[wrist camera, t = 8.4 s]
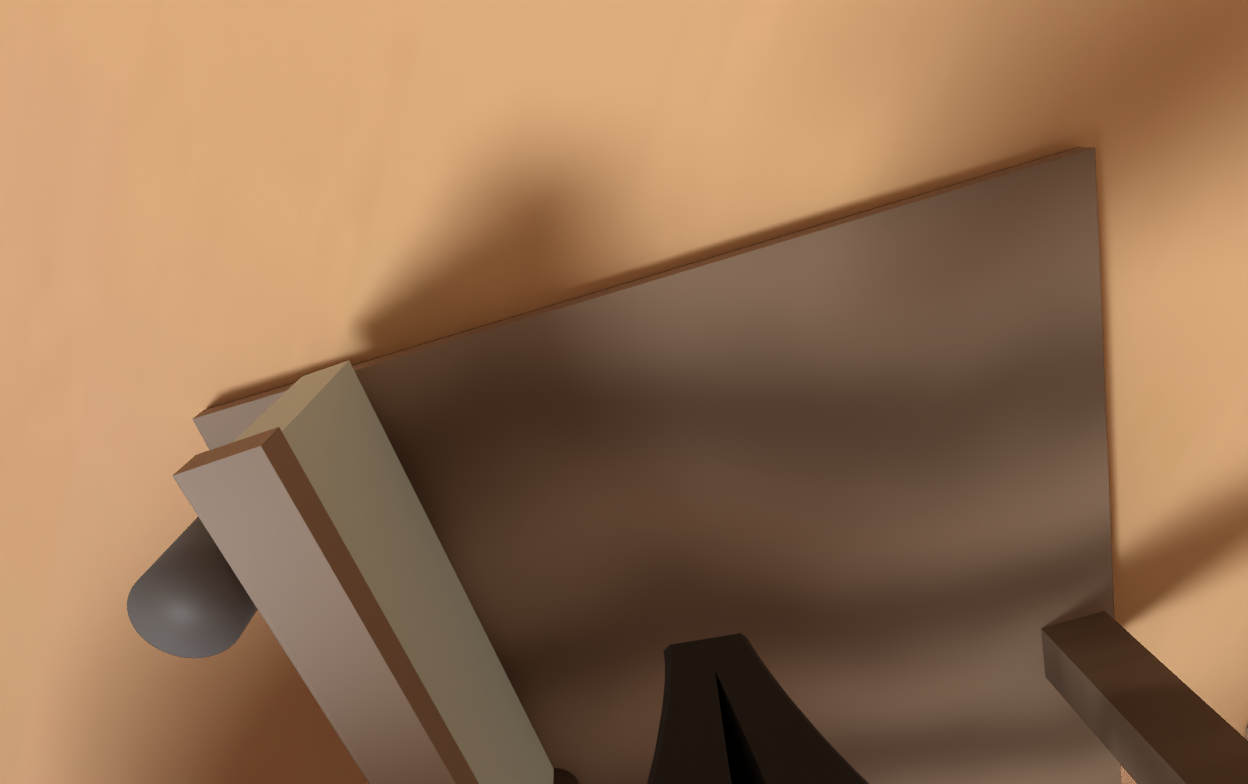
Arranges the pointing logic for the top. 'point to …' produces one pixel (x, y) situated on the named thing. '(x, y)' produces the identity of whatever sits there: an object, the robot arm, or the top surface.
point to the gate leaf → (362, 590)
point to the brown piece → (791, 498)
